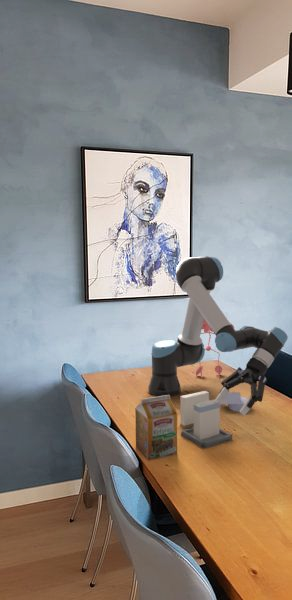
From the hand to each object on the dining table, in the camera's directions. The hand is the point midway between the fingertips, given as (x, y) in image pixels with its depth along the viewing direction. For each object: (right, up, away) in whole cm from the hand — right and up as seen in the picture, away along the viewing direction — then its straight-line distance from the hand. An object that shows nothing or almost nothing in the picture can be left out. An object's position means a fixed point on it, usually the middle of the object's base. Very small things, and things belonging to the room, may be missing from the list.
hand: (228, 408), depth 175 cm
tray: (-9, -10, -4) cm, 14 cm away
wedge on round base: (+7, -6, +25) cm, 27 cm away
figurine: (+2, +1, +73) cm, 73 cm away
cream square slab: (-12, -8, +8) cm, 16 cm away
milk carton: (-27, -11, -14) cm, 33 cm away
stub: (-9, -9, -4) cm, 13 cm away
